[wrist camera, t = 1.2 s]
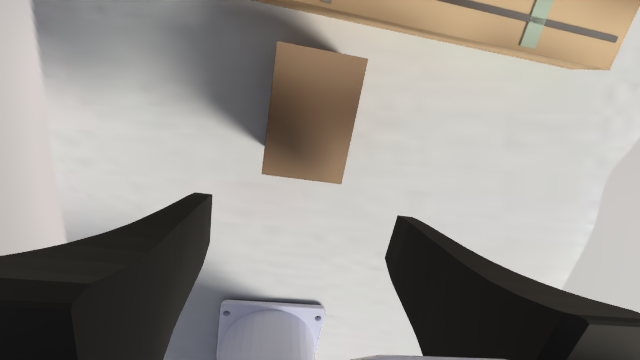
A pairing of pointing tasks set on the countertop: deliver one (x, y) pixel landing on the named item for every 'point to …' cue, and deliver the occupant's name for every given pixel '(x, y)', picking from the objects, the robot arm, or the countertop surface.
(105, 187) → the countertop surface
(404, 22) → the oak board
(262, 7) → the countertop surface
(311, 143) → the walnut block
